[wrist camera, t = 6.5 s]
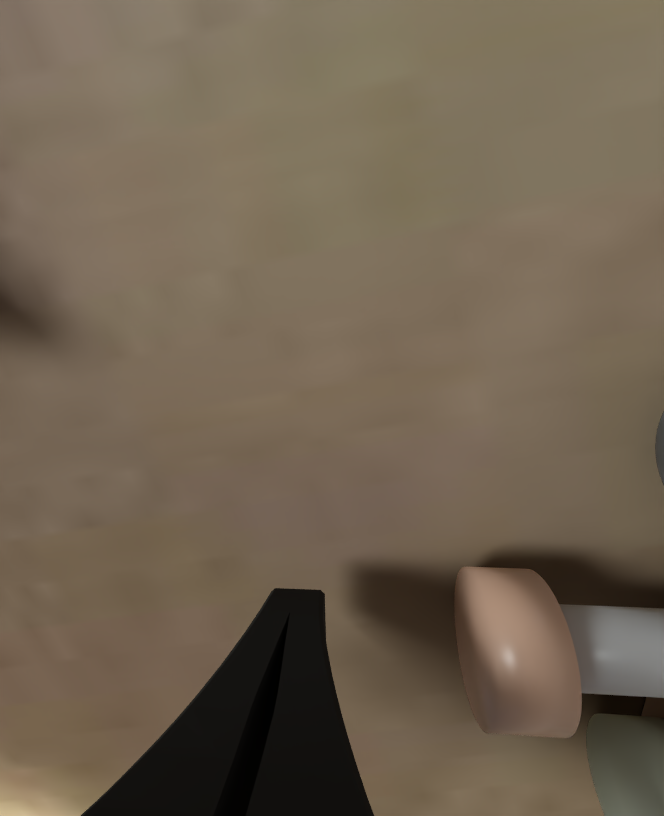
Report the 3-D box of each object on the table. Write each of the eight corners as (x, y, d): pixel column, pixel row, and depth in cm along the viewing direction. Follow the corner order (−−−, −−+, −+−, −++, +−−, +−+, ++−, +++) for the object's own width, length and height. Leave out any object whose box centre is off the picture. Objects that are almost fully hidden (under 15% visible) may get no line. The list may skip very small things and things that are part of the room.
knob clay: (450, 636, 11) (489, 773, 8) (459, 539, 10) (506, 649, 7) (689, 648, 11) (836, 800, 7) (720, 547, 10) (904, 669, 6)
